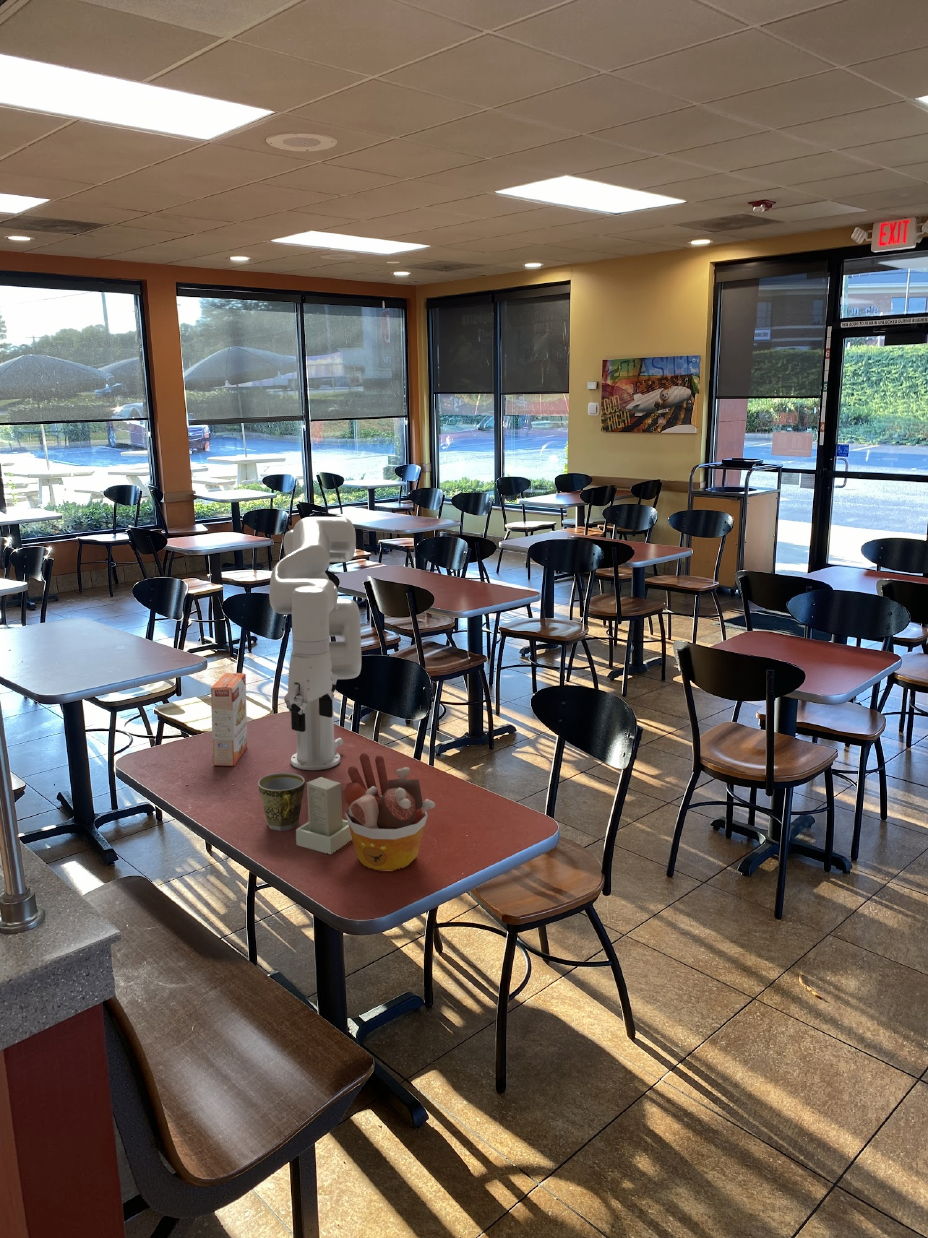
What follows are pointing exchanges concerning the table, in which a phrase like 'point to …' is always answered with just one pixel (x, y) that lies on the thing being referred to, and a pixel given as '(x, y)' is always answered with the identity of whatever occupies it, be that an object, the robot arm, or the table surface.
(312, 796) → the skincare box
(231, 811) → the table surface
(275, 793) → the ceramic cup
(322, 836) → the holder
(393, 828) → the bucket of meat
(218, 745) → the cracker box
